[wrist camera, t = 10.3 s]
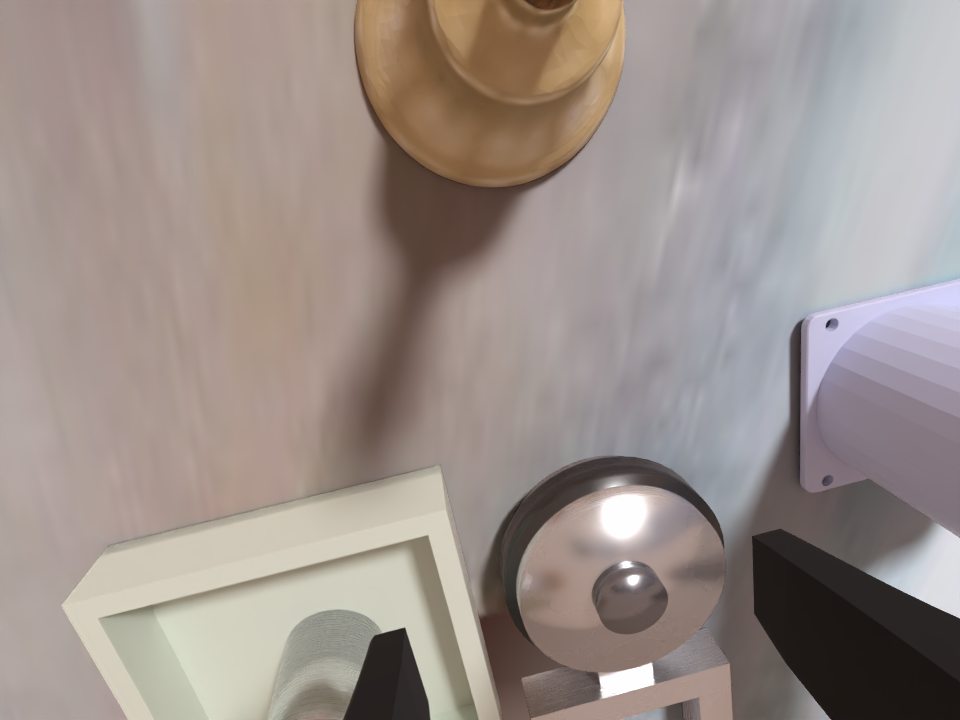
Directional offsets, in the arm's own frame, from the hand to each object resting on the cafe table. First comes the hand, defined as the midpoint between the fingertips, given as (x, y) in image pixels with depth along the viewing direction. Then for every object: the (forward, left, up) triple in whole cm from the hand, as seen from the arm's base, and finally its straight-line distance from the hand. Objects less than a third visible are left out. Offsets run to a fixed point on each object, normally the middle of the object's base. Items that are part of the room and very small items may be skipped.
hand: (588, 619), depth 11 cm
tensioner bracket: (-3, +13, -10) cm, 17 cm away
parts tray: (+9, +8, -10) cm, 16 cm away
